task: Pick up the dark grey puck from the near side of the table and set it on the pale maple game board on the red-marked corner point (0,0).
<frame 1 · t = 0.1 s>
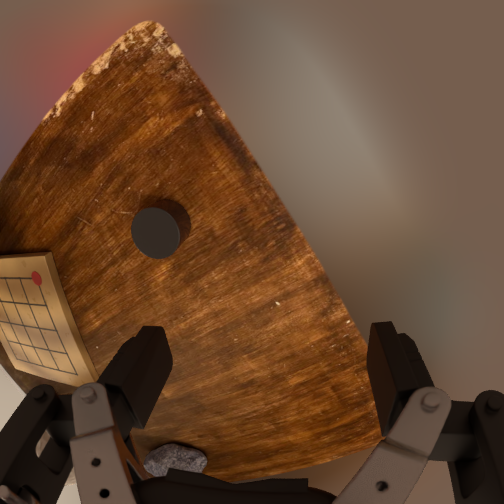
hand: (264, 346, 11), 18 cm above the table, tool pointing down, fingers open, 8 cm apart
rock: (178, 453, 45), on the table
board: (29, 320, 38), on the table
dark grey puck: (167, 223, 29), on the table
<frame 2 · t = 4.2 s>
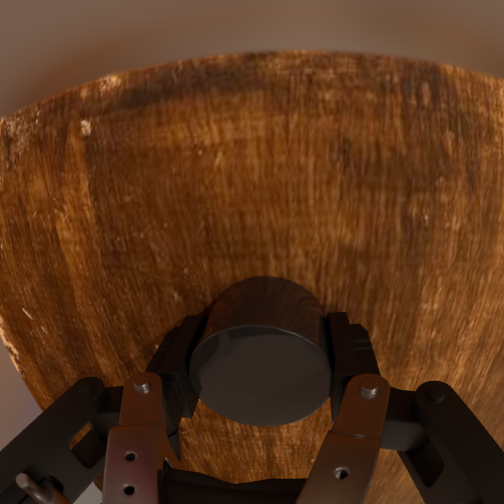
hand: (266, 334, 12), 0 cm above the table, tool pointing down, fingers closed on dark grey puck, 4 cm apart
dark grey puck: (267, 329, 12), on the table, touching gripper
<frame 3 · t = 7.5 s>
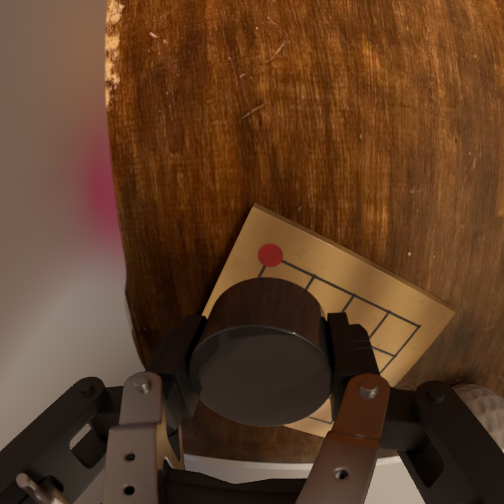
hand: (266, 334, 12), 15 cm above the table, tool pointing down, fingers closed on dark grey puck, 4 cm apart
board: (307, 349, 30), on the table
dark grey puck: (267, 329, 12), point 14 cm above the table, touching gripper
vase: (450, 398, 31), on the table
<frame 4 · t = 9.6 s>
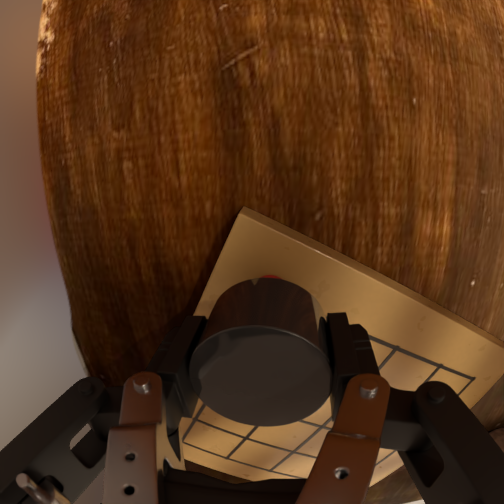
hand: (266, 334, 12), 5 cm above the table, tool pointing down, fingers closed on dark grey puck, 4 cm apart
board: (321, 411, 20), on the table
dark grey puck: (267, 329, 12), point 5 cm above the table, touching gripper
when the fingers open (2 cm above the table, at t = 10.9 s): dark grey puck stays where it is, resting on board.
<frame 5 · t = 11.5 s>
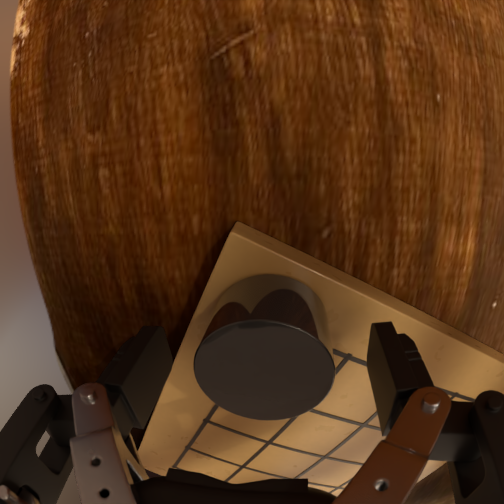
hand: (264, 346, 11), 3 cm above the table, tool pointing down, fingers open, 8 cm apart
board: (324, 439, 18), on the table
dark grey puck: (270, 325, 13), point 2 cm above the table, touching board
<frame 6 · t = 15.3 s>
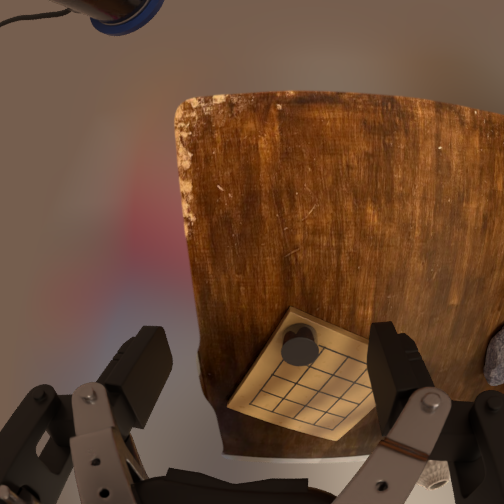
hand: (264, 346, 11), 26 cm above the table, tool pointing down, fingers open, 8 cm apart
rock: (500, 346, 39), on the table
board: (318, 384, 45), on the table
dark grey puck: (299, 337, 40), point 2 cm above the table, touching board
vase: (417, 414, 46), on the table
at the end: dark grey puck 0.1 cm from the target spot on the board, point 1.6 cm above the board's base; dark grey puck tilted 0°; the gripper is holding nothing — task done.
